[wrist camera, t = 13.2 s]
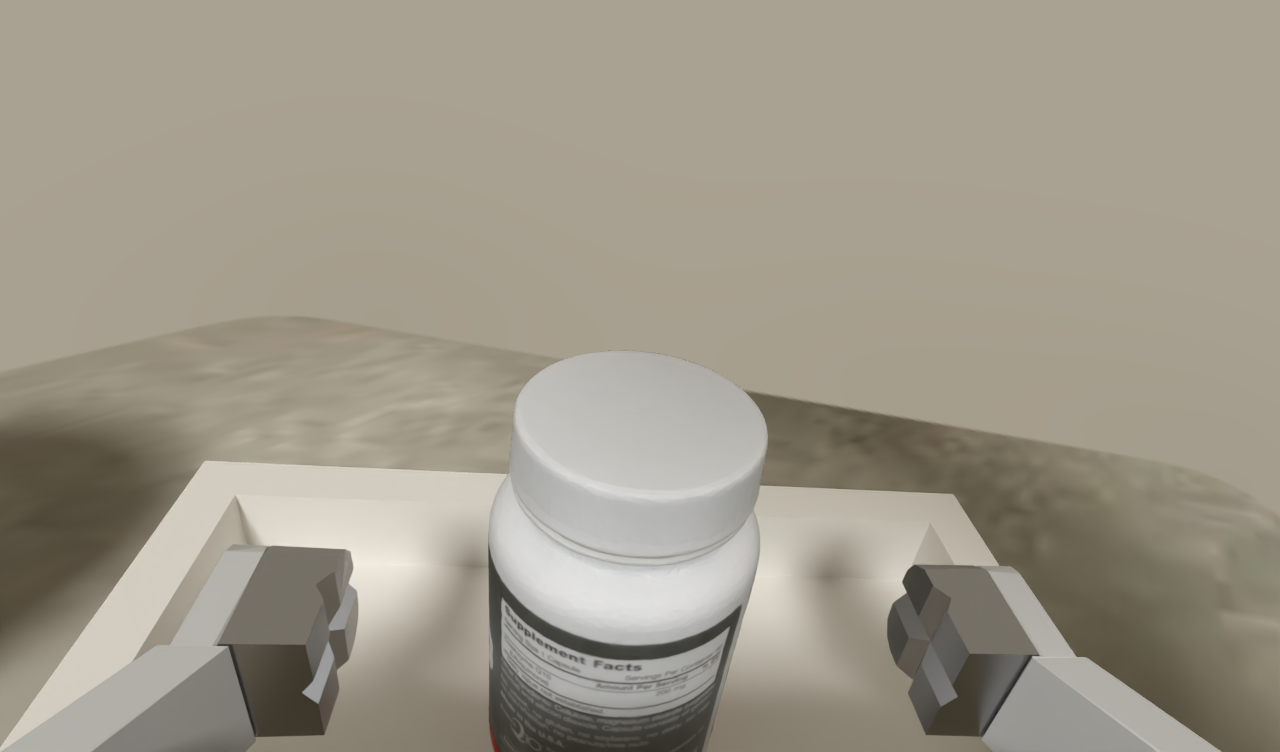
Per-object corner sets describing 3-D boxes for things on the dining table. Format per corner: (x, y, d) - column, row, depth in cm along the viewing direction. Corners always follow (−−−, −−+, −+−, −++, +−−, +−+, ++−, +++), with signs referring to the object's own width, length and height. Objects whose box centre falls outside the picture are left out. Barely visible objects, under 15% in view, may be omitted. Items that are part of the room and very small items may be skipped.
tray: (-102, 1100, 10) (-200, 1027, 9) (225, 541, 20) (204, 460, 18) (1171, 1039, 12) (1263, 974, 11) (921, 564, 22) (953, 493, 20)
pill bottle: (558, 604, 18) (580, 310, 14) (734, 684, 17) (820, 385, 12) (440, 769, 14) (418, 435, 10) (654, 889, 13) (738, 563, 9)
